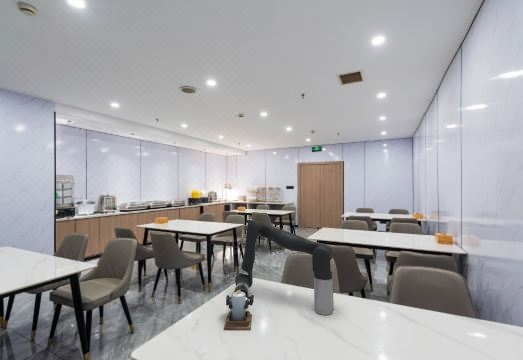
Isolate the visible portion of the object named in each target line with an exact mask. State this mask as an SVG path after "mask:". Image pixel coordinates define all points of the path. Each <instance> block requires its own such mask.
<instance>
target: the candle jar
mask: <svg viewBox="0 0 523 360" xmlns="http://www.w3.org/2000/svg"><path fill="white" fill-rule="evenodd" d="M231 297H232V309H231V311H232V320H233V321H244V320H245V311H246V310H245V293H244V292H241V290H238V291H237V292H234V291H233V292H232V293H231Z"/></svg>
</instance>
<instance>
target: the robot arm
mask: <svg viewBox="0 0 523 360" xmlns="http://www.w3.org/2000/svg"><path fill="white" fill-rule="evenodd" d="M245 234H246V235H245V246H244V252H243V257H242V261H241V265H240V266H241V267H240V268H241V270H242V271H244V272H245V273H247V274H245V273H241V272H240V273H237V274H236V275H235V279H234V283H235V287H234V291H233V293H234V292H237V291H238V290H241V292H244V293H245V311H247V309H249V306H251V307H252V306H253V304H254V302H255V296H254V294H251V296H249V294H250V292H249V291H250V289H249V288H251V287H252V286H253V284H254V283H253V282H254V280H253V279H254V277H253V276H254V275H253V271H254V270H253V269H254V263H255V260H256V250H255V246H256V245H255V244H256V241H257V238H258V237H262V238H266V239H267V240H270V241H272V242H274V243H275V244H276V245H278V246H279V247H281V248H284V249H286V250H288V251H292V252H299V253H305V254H307V255H311V259H312V260H311V261H312V262H311V263H312V272H313V294H314V295H313V298H314V299H313V300H314V301H313V302H314V304H313V307H314V312H315V313H317V314H319V315H321V316H330V315H332V314H333V313H334V310H335V309H334V308H335V306H334V290H333V272H332V270H331V261H332V259H333V258H334V255H335V254H334V250H333V248H331V246H329V245H328V244H324V243H321V242H317V241H312V240H309V239H307V238H305V237H303V236H300V235H297V234H295V233H292V232H290V231H287V230H284V229H280V228H277V227H273V226H271V225H269V224H267V223H265V222H263V221H261V220H251V221H249V222H248V224H247V225H246V233H245ZM225 302H226V303H225V306H226V307H227V306H228V309H229V310H230V311H232V296H231V295H229V294H226V298H225Z"/></svg>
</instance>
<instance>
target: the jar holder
mask: <svg viewBox="0 0 523 360" xmlns="http://www.w3.org/2000/svg"><path fill="white" fill-rule="evenodd" d="M252 319H253V314H251V312H250V311H249V310H245V320H244V321H233V320H232V310H230V311H229V312H228V313H227V316H226V319H225V323H224V326H223V331H251V330H252V322H253V321H252Z"/></svg>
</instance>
